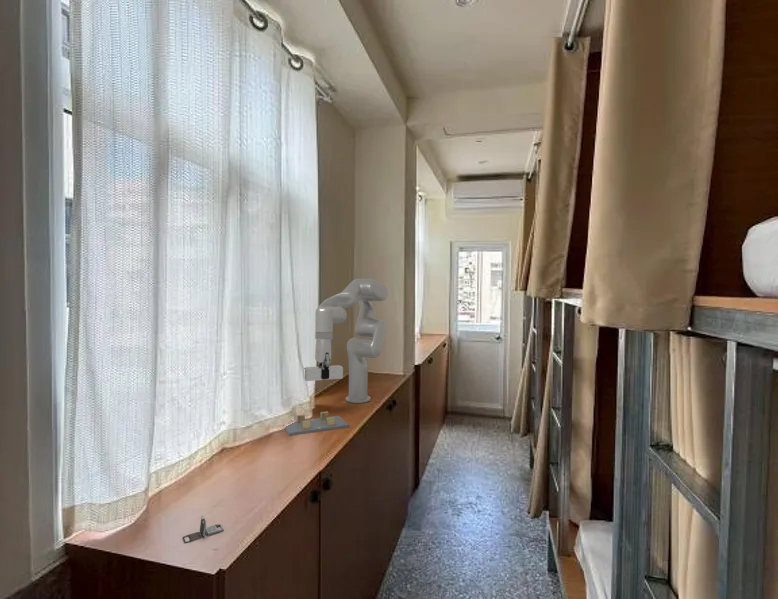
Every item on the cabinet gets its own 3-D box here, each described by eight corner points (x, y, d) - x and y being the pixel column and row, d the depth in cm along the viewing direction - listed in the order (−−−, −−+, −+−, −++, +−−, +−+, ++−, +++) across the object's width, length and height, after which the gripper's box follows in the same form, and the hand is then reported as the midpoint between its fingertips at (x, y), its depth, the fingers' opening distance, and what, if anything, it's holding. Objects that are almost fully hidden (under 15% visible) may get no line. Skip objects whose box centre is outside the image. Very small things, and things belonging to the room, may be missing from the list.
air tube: (303, 379, 180) (303, 367, 179) (339, 376, 186) (339, 365, 186) (306, 381, 175) (306, 369, 175) (342, 378, 182) (343, 366, 182)
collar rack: (282, 425, 171) (282, 415, 171) (338, 417, 181) (338, 408, 181) (289, 435, 159) (289, 425, 159) (348, 427, 169) (348, 417, 169)
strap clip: (221, 526, 100) (221, 509, 100) (224, 532, 97) (224, 514, 97) (181, 538, 95) (181, 520, 95) (184, 545, 92) (184, 526, 92)
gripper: (310, 334, 186) (310, 374, 187) (320, 338, 171) (320, 382, 171) (326, 333, 190) (326, 373, 190) (338, 337, 174) (337, 380, 174)
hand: (323, 377), depth 181 cm, fingers closed on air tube, 5 cm apart
